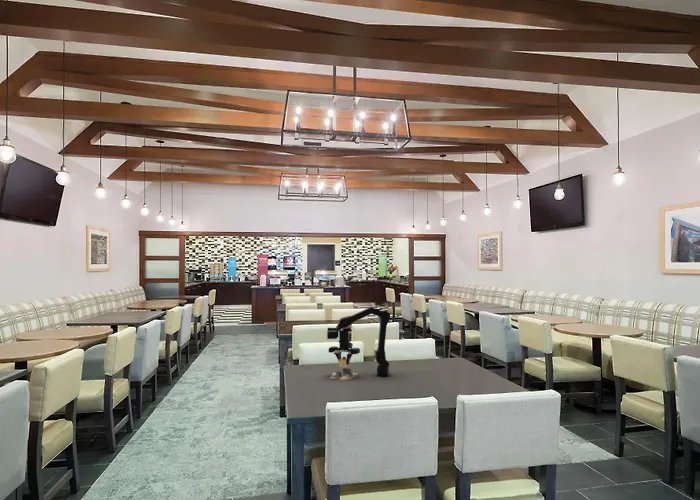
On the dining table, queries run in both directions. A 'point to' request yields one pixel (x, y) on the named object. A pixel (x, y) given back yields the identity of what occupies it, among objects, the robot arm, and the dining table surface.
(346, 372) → the cream mounting plate
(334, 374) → the shaft
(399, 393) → the dining table surface
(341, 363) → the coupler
